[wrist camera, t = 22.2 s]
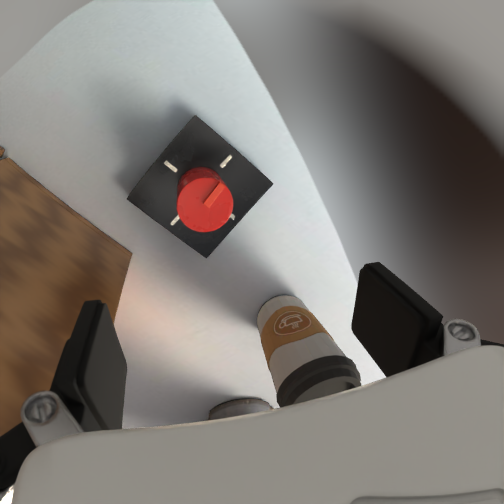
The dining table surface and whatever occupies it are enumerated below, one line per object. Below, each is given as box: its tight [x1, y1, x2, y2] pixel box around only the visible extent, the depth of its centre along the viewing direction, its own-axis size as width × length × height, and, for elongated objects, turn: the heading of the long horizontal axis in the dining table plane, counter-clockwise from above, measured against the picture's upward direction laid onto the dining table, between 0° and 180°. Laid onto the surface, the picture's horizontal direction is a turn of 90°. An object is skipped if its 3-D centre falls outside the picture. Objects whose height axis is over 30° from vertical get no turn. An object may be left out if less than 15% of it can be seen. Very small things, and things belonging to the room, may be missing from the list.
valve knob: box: [177, 167, 233, 232], centre depth 26 cm, size 4×4×6 cm
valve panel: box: [127, 115, 273, 258], centre depth 30 cm, size 10×10×2 cm
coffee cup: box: [257, 295, 361, 408], centre depth 33 cm, size 8×8×15 cm
